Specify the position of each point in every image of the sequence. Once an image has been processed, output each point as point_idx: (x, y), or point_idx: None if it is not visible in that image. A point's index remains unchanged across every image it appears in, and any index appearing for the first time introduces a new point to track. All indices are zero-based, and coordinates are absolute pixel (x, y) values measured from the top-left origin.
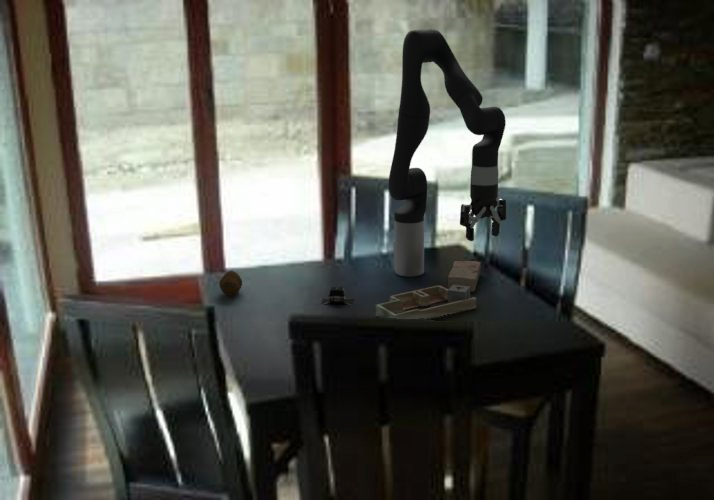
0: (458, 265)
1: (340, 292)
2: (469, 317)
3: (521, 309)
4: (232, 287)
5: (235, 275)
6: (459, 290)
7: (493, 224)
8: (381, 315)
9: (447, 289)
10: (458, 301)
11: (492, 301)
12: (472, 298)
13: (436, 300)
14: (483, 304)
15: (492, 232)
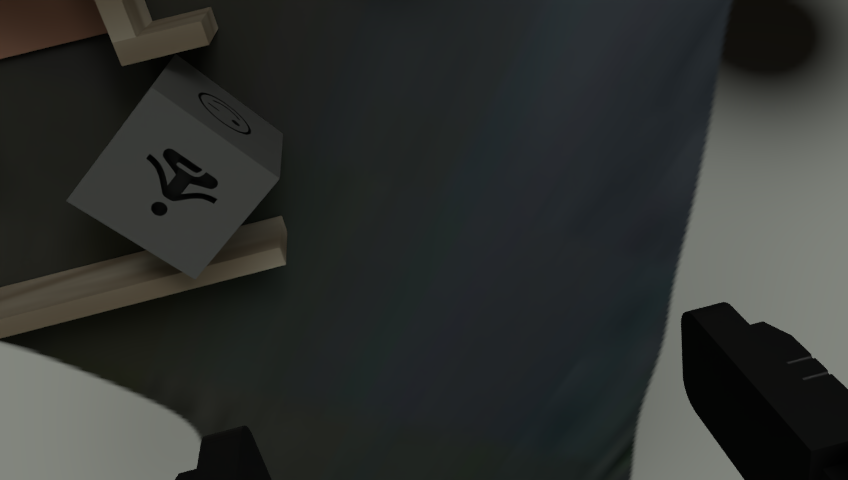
0: None
1: None
2: (194, 349)
3: (530, 315)
4: None
5: None
6: (163, 234)
7: (789, 464)
8: None
9: (121, 21)
10: (137, 292)
11: (441, 151)
12: (256, 264)
13: (38, 16)
14: (360, 183)
15: (703, 351)
